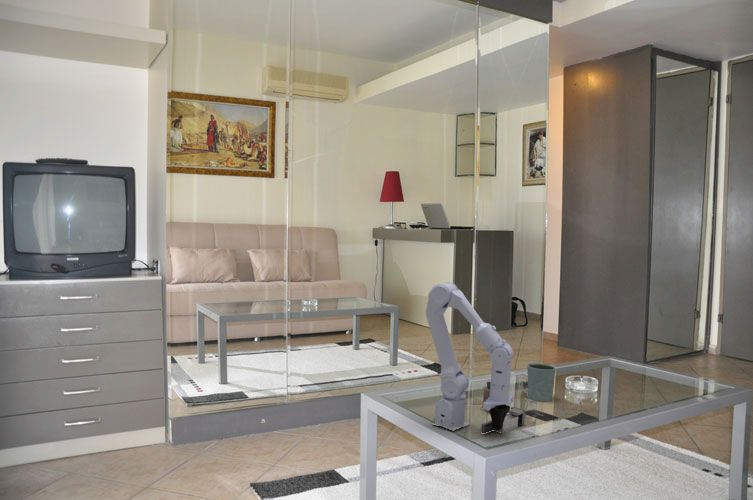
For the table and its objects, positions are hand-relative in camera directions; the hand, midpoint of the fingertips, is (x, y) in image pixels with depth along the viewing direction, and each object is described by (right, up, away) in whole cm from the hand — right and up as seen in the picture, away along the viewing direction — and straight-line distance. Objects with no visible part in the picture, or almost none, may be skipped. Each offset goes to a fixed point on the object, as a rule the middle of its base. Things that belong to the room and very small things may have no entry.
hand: (497, 429), depth 182 cm
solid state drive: (+18, -2, +21) cm, 28 cm away
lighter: (+2, -1, +22) cm, 22 cm away
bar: (+4, -1, +4) cm, 6 cm away
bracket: (+3, -1, +4) cm, 5 cm away
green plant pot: (+24, -1, +42) cm, 48 cm away
